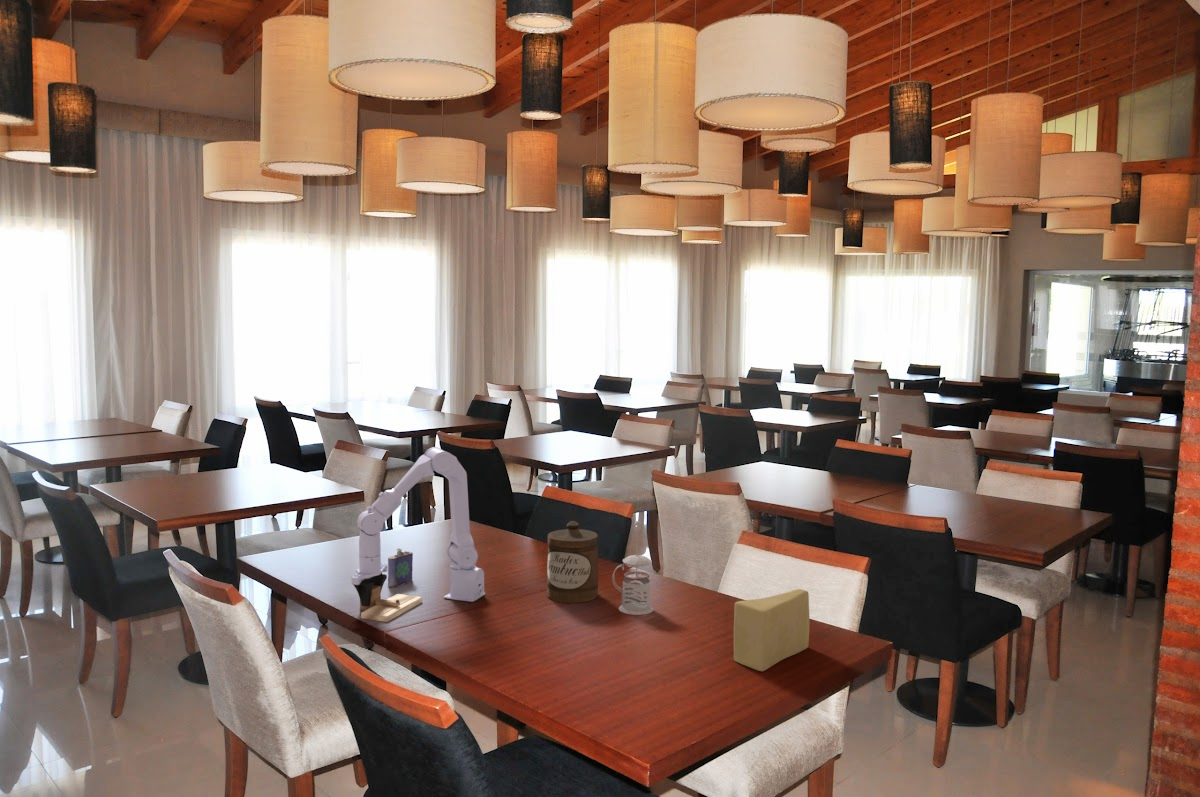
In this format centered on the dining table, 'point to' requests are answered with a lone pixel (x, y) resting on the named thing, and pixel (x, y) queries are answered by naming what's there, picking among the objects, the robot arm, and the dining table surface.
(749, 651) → the cheese
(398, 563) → the flask
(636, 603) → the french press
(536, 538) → the dining table surface
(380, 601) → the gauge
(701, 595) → the dining table surface
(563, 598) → the wooden container
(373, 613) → the board
